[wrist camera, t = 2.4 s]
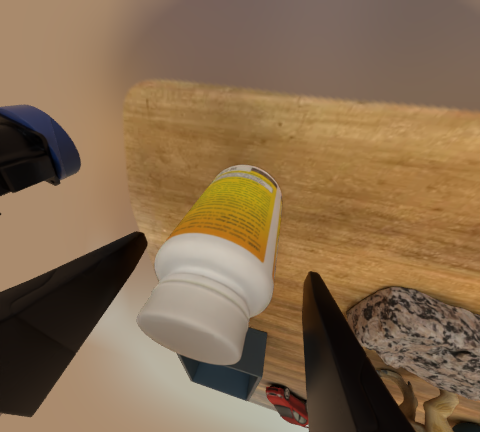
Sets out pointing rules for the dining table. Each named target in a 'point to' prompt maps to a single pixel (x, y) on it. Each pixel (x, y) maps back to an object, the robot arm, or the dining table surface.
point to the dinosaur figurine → (435, 408)
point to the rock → (422, 337)
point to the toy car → (288, 406)
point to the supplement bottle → (217, 268)
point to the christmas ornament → (466, 427)
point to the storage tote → (232, 369)
